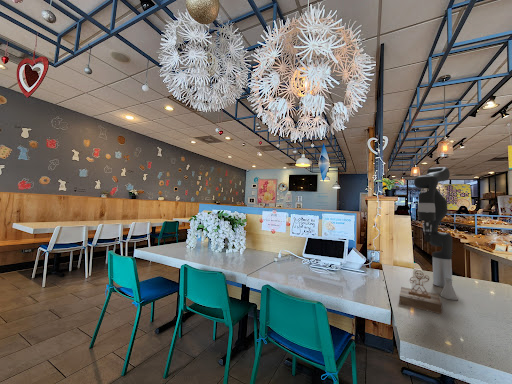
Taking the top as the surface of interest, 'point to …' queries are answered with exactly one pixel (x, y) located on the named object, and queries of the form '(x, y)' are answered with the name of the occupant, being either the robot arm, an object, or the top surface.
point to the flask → (448, 290)
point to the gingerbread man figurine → (419, 287)
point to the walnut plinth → (421, 300)
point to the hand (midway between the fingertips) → (427, 240)
